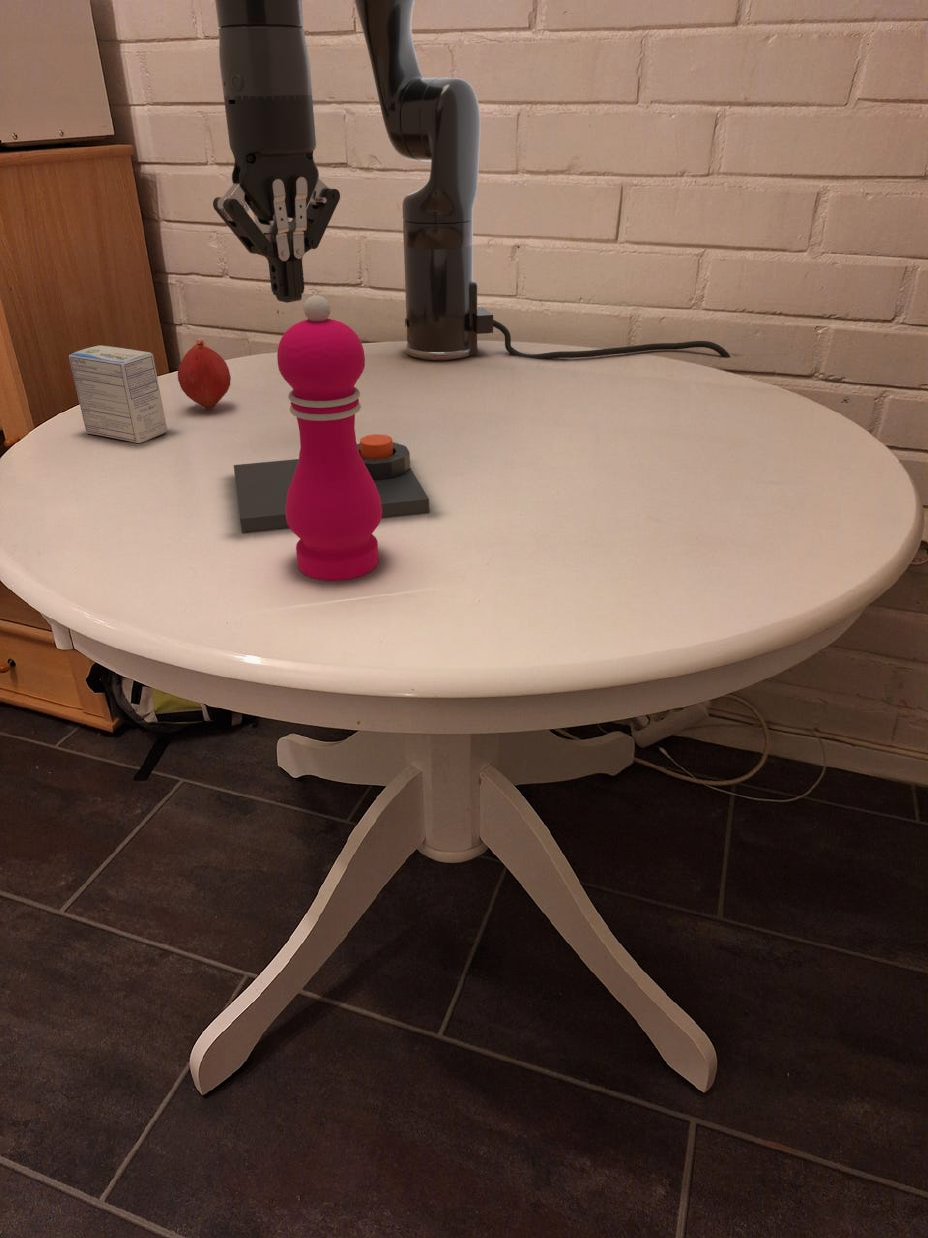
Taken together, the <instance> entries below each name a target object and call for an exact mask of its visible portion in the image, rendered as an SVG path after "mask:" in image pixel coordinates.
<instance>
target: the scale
mask: <svg viewBox="0 0 928 1238" xmlns="http://www.w3.org/2000/svg"><path fill="white" fill-rule="evenodd" d="M357 447H358V450H359V453H360V455H361V452H360V443H357ZM410 454H411V453H410V451H409V449H408V447H407V446H406V445H404V444H400V443H398V442H395V441H393V456H390V457H387V458H378V459H371V458H364V457H362V456H361V458H362V460H363V462H364V464H365V466H366V468H367V469H368V471H369V473H370V475H371V477H372V479H373V481H374V482H375V485H376V488H377V490H378V493H379V496H380V500H381V506H382V518H381V519H386V518H395V517H403V516H414V515H421V514H430V498H429V496H428V494H427V493H426V492H425V490H424V488H423V486H422V485H421V483H420V481H419V480H418V478H417V477H416V475H415V473H414V471H413V470H412V468H411V456H410ZM298 461H299V458H295V459H283V460H272V461H263V462H262V461H261V462H252V463H241V464H233V472H234V480H235V488H236V489H235V490H236V497H237V506H238V512H239V513H238V514H239V521H240V527H241V529H240V530H241V534H249V533H257V532H267V531H277V530H286V529H290V527H289V526H288V524H287V520H286V500H287V494H288V490H289V487H290V484H291V481H292V479H293V476H294V473H295V471H296V467H297V464H298Z"/></svg>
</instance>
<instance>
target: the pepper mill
mask: <svg viewBox="0 0 928 1238" xmlns="http://www.w3.org/2000/svg"><path fill="white" fill-rule="evenodd" d="M303 312H304V315H305V316H306V318H307V319H304V320H301V321H299V322H297V323H294V324H293V325H292V326H290V327H289V328H288V329H286V331H285V332H284V333H283V335H282V336H281V338H280V340H279V342H278V346H277V353H276V355H277V356H276V357H277V358H276V359H277V367H278V371H279V373H280V375H281V376H282V378H283V379H284V381H286V383H287V384H288V385H289V386H290V387H291V388H292V390H290V391H289V393H288V400H289V401H290V406H289V413H290V414H291V415H292V416H294V417H296V419H297V420H296V421H297V427H298V432H299V444H300V445H299V446H300V447H299V448H300V449H299V455H298V459H299V461H298V464H297V467H296V471H295V473H294V476H293V479H292V481H291V484H290V487H289V490H288V494H287V500H286V520H287V524H288V526H289V527H290V528H289V529H290V531H291V532H292V533H293V534H294V535H295V536H296V537H297V538H299V540H298V541H297V543H296V544H295V552H296V560H297V567H298V570H299V571H301V573H302V574H304V575H306V577H309V578H312V579H316V580H321V581H330V582H331V581H348V580H351V579H352V580H353V579H356V578H359V577H362V576H365V575H367V574H368V573H370V572H372V570H374V569H375V568H376V566H377V565H378V563H379V543H378V542H379V541H378V539H377V536H375V535H374V534H373V533H374V532H375V531H376V530H377V528H378V527H379V525H380V523H381V521H382V519H383V518H382V506H381V500H380V496H379V493H378V490H377V488H376V485H375V482H374V481H373V479H372V477H371V475H370V473H369V471H368V469H367V468H366V466H365V464H364V462H363V460H362V458H361V455H360V453H359V450H358V447H357V444H358V443H357V438H356V436H357V435H356V428H355V427H356V414H358V413H360V410H361V407H362V404H361V402H360V400H359V398H360V396H361V391H360V390H359V388H357V387H356V386H355V385H356V383H357V381H358V380H359V379H360V377H361V376H362V375H363V372H364V371H365V365H366V355H365V349H364V346H363V343H362V341H361V339H360V337H359V335H358V334H357V333H356V331H354V330H353V328H352V327H350V326H349V325H348V324H346V323H344V322H342V321H339V320H336V319H332V318H329V317H330V315H331V305H330V303H329V300H327V299H326V298H325V297H324V296H321V295H319V294H318V295H316V294H315V295H312V296H310V297H308V298H307V299H306V300H305V302H304V305H303Z"/></svg>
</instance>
